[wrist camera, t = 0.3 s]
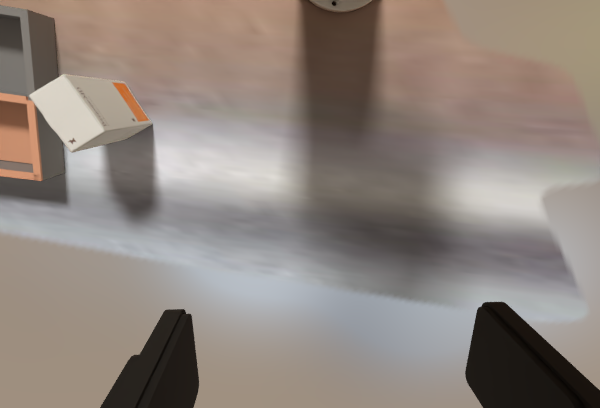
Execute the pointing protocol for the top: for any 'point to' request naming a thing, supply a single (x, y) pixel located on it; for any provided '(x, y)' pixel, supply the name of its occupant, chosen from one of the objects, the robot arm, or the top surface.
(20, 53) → the box
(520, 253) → the top surface
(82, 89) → the skincare box
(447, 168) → the top surface
